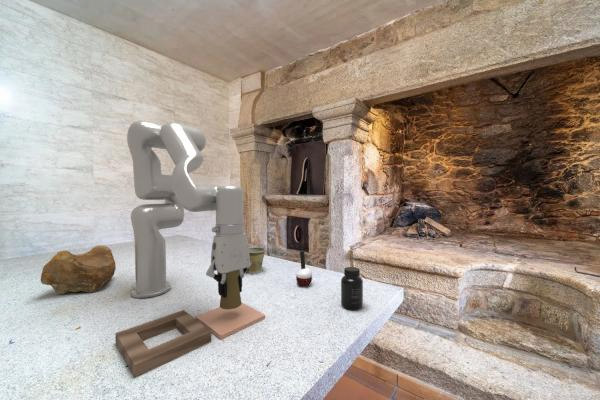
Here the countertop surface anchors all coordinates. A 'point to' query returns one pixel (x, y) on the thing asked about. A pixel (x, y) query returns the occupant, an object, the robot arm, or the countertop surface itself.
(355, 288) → the supplement bottle
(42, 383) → the countertop surface
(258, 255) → the ceramic cup
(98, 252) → the rough brown rock
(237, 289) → the olive tall flared piece
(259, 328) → the countertop surface
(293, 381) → the countertop surface
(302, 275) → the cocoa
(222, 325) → the terracotta tile
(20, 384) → the countertop surface
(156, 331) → the frame
